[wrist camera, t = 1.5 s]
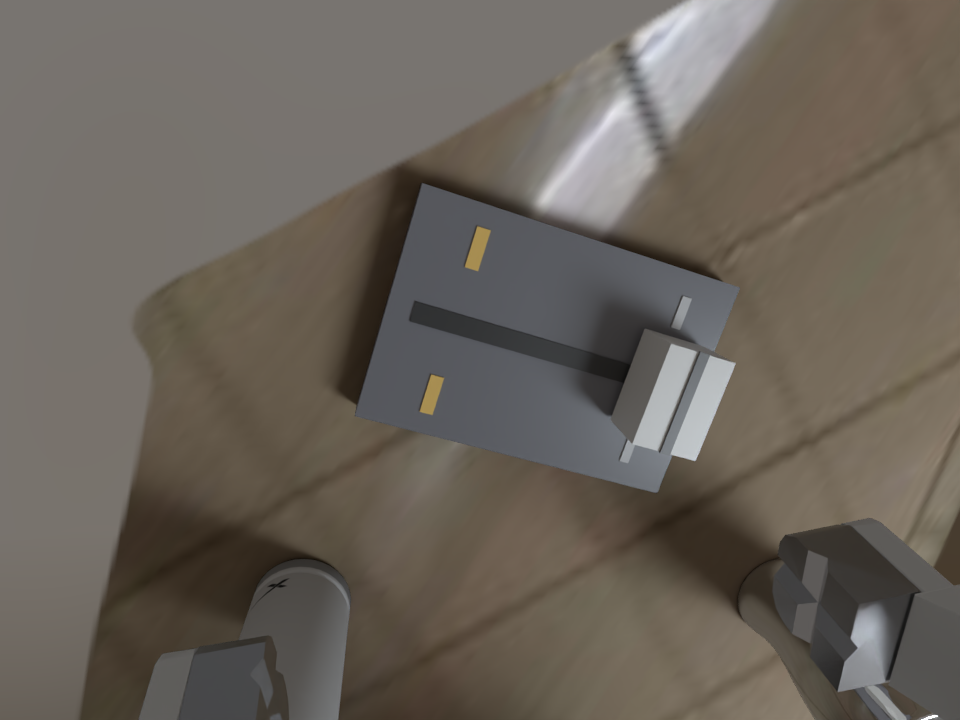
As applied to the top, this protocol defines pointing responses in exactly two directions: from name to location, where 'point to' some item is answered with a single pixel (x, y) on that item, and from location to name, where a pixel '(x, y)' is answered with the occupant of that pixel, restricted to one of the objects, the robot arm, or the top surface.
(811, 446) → the top surface
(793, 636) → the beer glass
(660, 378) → the fader knob
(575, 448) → the fader panel
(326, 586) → the travel mug
